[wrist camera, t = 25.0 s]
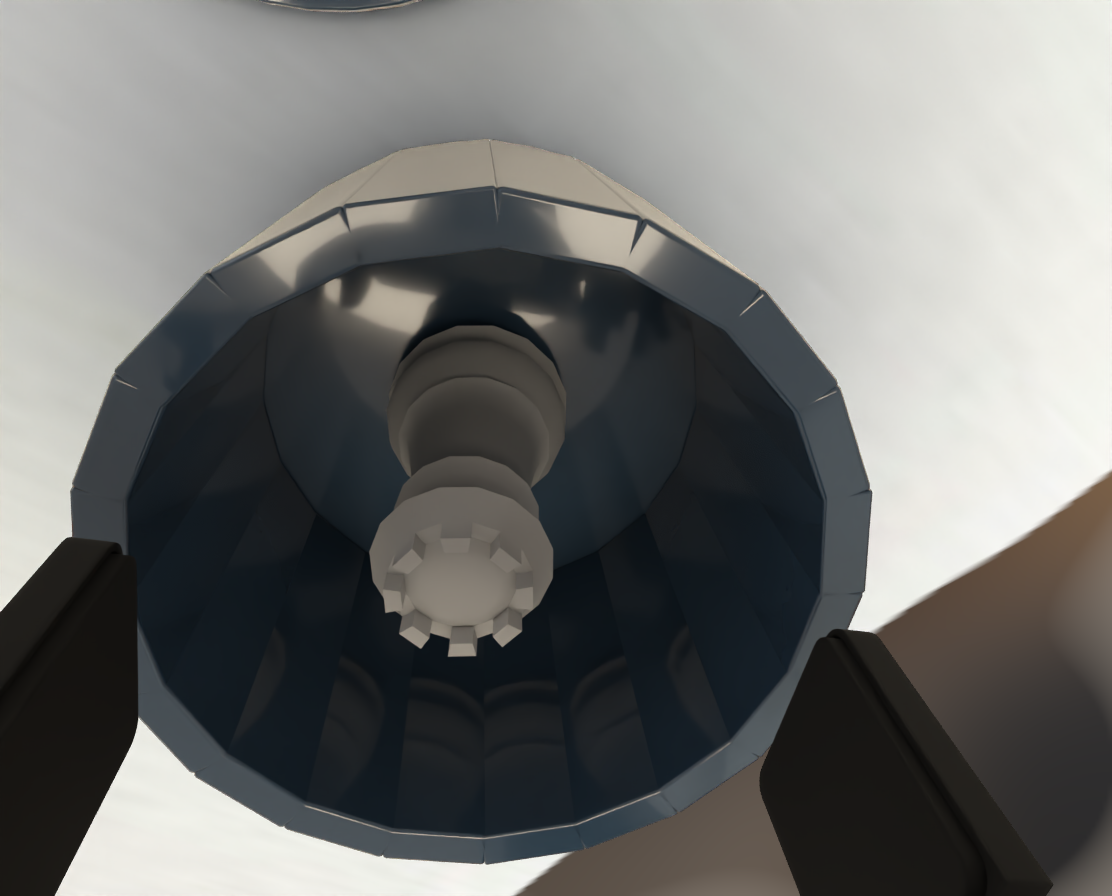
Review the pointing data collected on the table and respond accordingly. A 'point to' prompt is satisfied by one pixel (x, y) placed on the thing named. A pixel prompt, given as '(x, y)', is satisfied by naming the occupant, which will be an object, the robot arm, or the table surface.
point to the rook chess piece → (469, 486)
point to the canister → (562, 495)
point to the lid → (340, 4)
